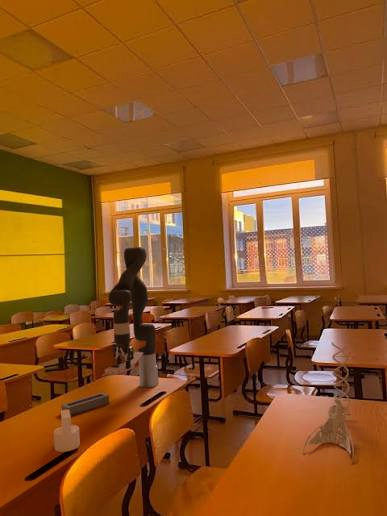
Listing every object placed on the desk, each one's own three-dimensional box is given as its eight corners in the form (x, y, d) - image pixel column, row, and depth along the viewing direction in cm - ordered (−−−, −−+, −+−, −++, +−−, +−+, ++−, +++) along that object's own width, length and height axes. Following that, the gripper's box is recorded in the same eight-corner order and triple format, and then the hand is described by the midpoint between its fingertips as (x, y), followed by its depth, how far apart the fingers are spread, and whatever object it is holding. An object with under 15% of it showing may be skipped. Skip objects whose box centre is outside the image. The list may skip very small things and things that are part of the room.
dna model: (349, 411, 171) (345, 339, 171) (353, 417, 164) (349, 343, 164) (332, 412, 171) (328, 340, 171) (336, 418, 165) (332, 343, 165)
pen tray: (102, 400, 201) (101, 392, 201) (109, 403, 197) (108, 395, 197) (61, 413, 187) (61, 404, 187) (68, 416, 182) (68, 407, 182)
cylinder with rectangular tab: (54, 443, 155) (52, 412, 155) (78, 438, 158) (77, 407, 159) (55, 453, 147) (53, 420, 147) (80, 448, 150) (79, 415, 150)
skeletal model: (301, 455, 136) (311, 387, 153) (307, 467, 142) (316, 400, 158) (352, 464, 128) (357, 391, 145) (357, 476, 134) (361, 405, 150)
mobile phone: (144, 352, 203) (110, 364, 181) (145, 364, 203) (110, 377, 181) (134, 351, 206) (99, 363, 184) (135, 363, 206) (100, 376, 184)
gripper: (137, 332, 191) (139, 368, 191) (119, 329, 201) (121, 363, 201) (124, 335, 186) (126, 371, 186) (106, 332, 196) (108, 367, 196)
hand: (123, 367), depth 193 cm, fingers closed on mobile phone, 6 cm apart
